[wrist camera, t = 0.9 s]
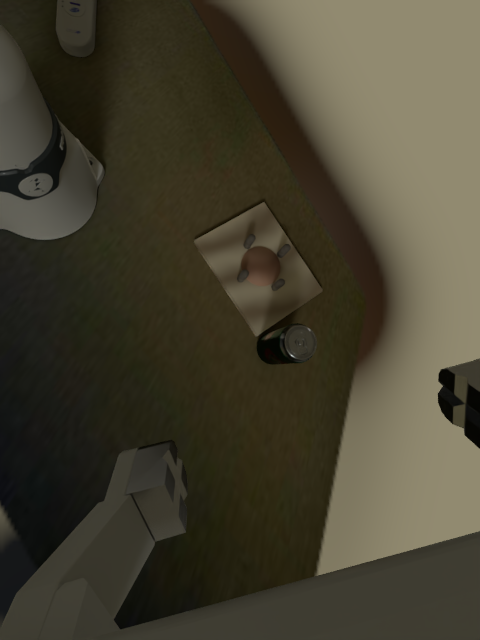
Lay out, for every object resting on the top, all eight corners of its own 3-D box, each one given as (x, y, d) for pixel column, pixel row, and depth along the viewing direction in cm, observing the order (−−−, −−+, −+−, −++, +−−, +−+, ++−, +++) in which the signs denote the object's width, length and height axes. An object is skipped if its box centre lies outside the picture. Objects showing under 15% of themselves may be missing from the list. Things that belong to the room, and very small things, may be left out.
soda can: (280, 329, 52) (312, 317, 40) (289, 359, 52) (324, 356, 40) (251, 337, 51) (276, 328, 39) (261, 368, 50) (288, 367, 39)
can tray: (193, 242, 51) (196, 230, 47) (262, 204, 55) (270, 190, 50) (255, 336, 51) (264, 333, 46) (320, 292, 55) (333, 285, 50)
